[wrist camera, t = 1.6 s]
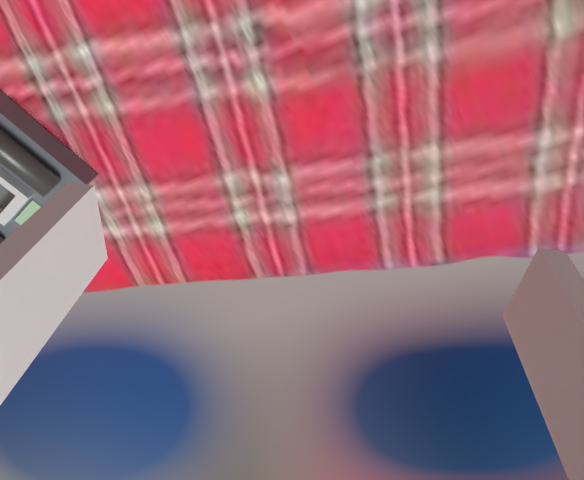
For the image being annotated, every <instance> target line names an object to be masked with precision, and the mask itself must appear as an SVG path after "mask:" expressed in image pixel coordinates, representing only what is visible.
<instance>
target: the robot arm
mask: <svg viewBox="0 0 584 480" xmlns="http://www.w3.org/2000/svg"><path fill="white" fill-rule="evenodd" d="M107 258H108V257H107V252H106V246H105V241H104V235H103V230H102V224H101V219H100V214H99V208H98V203H97V197H96V192H95V187H94V185H89V184H82V183H75V182H68V183H67V184H66V185H65V186H64V187H63V188H62V189H60V190H59V191H58V192H57V193H56V194H55V195H54V196H53V197H52V198H50V199H49V200H48V201H47V202H46V203H45V204H44V205H43V206H42V207H41V208H39V209H38V210H37V211H36V212H35V213H34V214H33V215H32V216H31V217H29V218H28V219H27V220H26V221H25V222H24V223H23V224H22V225H21V226H20V227H18V228H17V229H16V230H15V231H14V232H13V233H12V234H11V235H10V236H8V237H7V238H6V239H5V240H4V241H3V242H2V243H1V244H0V405H1V403H2V402H3V401H4V399H5V398H6V397H7V395H8V394H9V393H10V391H11V390H12V388H13V387H14V386H15V384H16V383H17V382H18V380H19V379H20V378H21V376H22V375H23V373H24V372H25V371H26V369H27V368H28V366H29V365H30V364H31V362H32V361H33V360H34V358H35V357H36V356H37V354H38V353H39V351H40V350H41V349H42V347H43V346H44V345H45V343H46V342H47V341H48V339H49V338H50V336H51V335H52V334H53V332H54V331H55V329H56V328H57V327H58V325H59V324H60V323H61V321H62V320H63V319H64V317H65V316H66V315H67V313H68V312H69V310H70V309H71V308H72V306H73V305H74V304H75V302H76V301H77V299H78V298H79V297H80V295H81V294H82V293H83V291H84V290H85V288H86V287H87V286H88V284H89V283H90V282H91V280H92V279H93V278H94V276H95V275H96V273H97V272H98V271H99V269H100V268H101V267H102V265H103V264H104V262H105V261H106V260H107ZM503 318H504V320H505V323H506V325H507V328H508V330H509V333H510V335H511V338H512V340H513V343H514V345H515V348H516V350H517V353H518V355H519V358H520V360H521V362H522V365H523V368H524V370H525V373H526V375H527V377H528V380H529V382H530V385H531V387H532V390H533V392H534V395H535V397H536V400H537V402H538V405H539V407H540V410H541V412H542V415H543V417H544V419H545V422H546V424H547V427H548V429H549V432H550V434H551V437H552V439H553V442H554V444H555V447H556V449H557V452H558V454H559V457H560V459H561V462H562V464H563V467H564V469H565V471H566V474H567V477H568V479H569V480H584V279H583V277H582V276H581V274H580V273H579V271H578V270H577V268H576V267H575V265H574V264H573V262H572V261H571V259H570V258H569V256H568V255H567V253H566V252H564V251H557V250H550V249H543V248H538V250H537V252H536V254H535V256H534V258H533V259H532V261H531V263H530V265H529V267H528V269H527V271H526V272H525V274H524V276H523V278H522V280H521V282H520V284H519V285H518V287H517V289H516V291H515V293H514V295H513V297H512V299H511V300H510V302H509V304H508V306H507V308H506V310H505V311H504V313H503Z"/></svg>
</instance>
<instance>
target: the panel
mask: <svg viewBox="0 0 584 480" xmlns="http://www.w3.org/2000/svg"><path fill="white" fill-rule="evenodd" d="M97 175H98V173H96V172H95V171H94V170H93V169H92V168H91V167H90V166H88V165H87V164H86V163H85V162H84V161H83V160H81V159H80V158H79V157H78V156H77V155H76V154H74V153H73V152H72V151H71V150H70V149H69V148H67V147H66V146H65V145H64V144H63V143H62V142H60V141H59V140H58V139H57V138H56V137H55V136H53V135H52V134H51V133H50V132H49V131H48V130H46V129H45V128H44V127H43V126H42V125H41V124H39V123H38V122H37V121H36V120H35V119H34V118H32V117H31V116H30V115H29V114H28V113H27V112H25V111H24V110H23V109H22V108H21V107H20V106H18V105H17V104H16V103H15V102H14V101H13V100H12V99H10V98H9V97H8V96H7V95H6V94H5V93H3V92H2V91H1V90H0V244H1V243H2V242H3V241H4V240H5V239H6V238H7V237H8V236H10V235H11V234H12V233H13V232H14V231H15V230H16V229H17V228H18V227H20V226H21V225H22V224H23V223H24V222H25V221H26V220H27V219H28V218H29V217H31V216H32V215H33V214H34V213H35V212H36V211H37V210H38V209H39V208H41V207H42V206H43V205H44V204H45V203H46V202H47V201H48V200H49V199H50V198H52V197H53V196H54V195H55V194H56V193H57V192H58V191H59V190H60V189H62V188H63V187H64V186H65V185H66V184H67V183H68V182H75V183H82V184H89V183H90V182H91V181H92V180H93V179H94V178H95V177H96V176H97Z"/></svg>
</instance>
